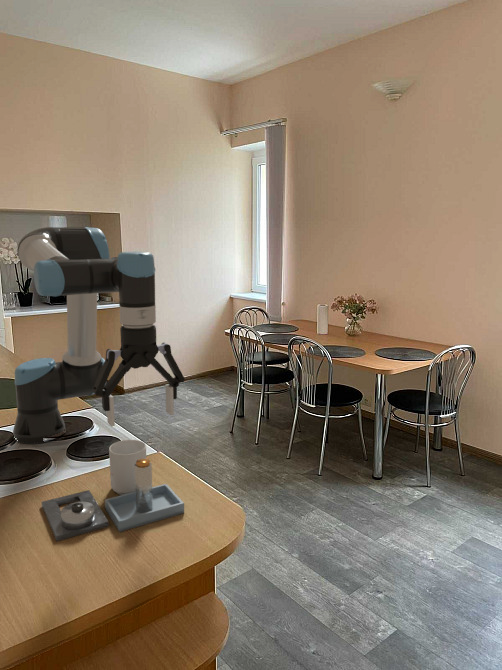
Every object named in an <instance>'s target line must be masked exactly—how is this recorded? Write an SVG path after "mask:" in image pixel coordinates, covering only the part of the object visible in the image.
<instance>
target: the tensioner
mask: <svg viewBox="0 0 502 670" xmlns="http://www.w3.org/2000/svg"><path fill="white" fill-rule="evenodd" d="M66 504H67V505H66ZM62 505H65V506H64V507H62V508H60V507H59V506H62ZM41 508H42V510H43V512H44V515H45V517H46V520H47V522H48V524H49V527H50V530H51V532H52V533H53V537H54V538H55V541H56V542H59V541H63V540H66V539H70V538H73V537H76V536H80V535H84V534H86V533H90V532H94V531H97V530H101V529H105V528H108V527H109V526H110V525H109V520H108V519H107V517H106V515H105V514H104V512H103V510H102V509H101V507H100V505H99V504H98V501H96V499H95V498H94V496H93V493H92V492H91V491H90V490H89V489H87V490H83V491H80V492H76V493H72V494H67V495H64V496H59V497H56V498H52V499H47V500H43V501H41Z"/></svg>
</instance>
